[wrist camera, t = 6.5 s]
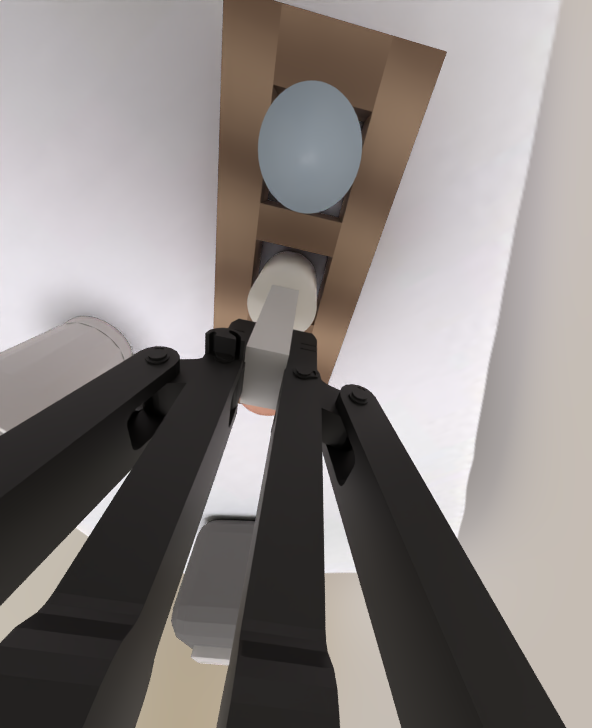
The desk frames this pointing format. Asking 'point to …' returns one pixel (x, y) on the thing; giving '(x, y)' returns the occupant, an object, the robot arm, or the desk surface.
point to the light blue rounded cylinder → (310, 147)
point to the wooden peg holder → (377, 166)
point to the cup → (56, 366)
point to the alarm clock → (213, 590)
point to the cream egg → (287, 286)
